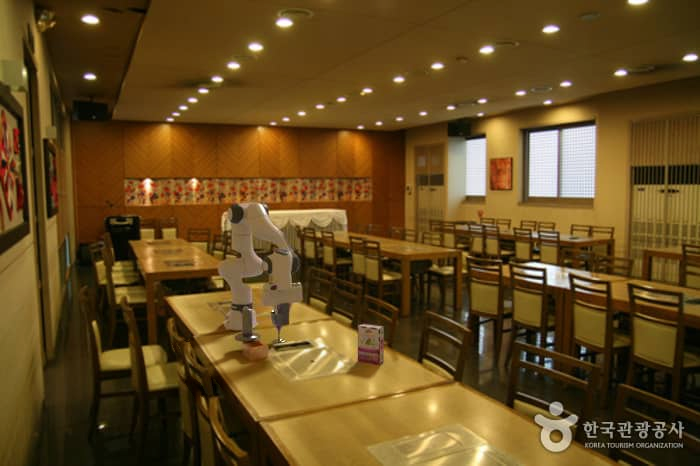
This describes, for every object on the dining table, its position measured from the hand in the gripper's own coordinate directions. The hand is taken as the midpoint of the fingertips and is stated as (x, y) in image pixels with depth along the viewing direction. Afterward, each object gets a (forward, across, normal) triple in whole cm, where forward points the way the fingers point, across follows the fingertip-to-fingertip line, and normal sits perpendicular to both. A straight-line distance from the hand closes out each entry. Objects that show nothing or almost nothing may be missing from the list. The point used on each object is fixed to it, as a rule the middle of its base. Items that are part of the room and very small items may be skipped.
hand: (282, 313), depth 254 cm
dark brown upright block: (+5, 0, 0) cm, 5 cm away
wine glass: (+19, -6, -17) cm, 26 cm away
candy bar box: (+19, -28, +33) cm, 48 cm away
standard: (+19, +13, -7) cm, 24 cm away
